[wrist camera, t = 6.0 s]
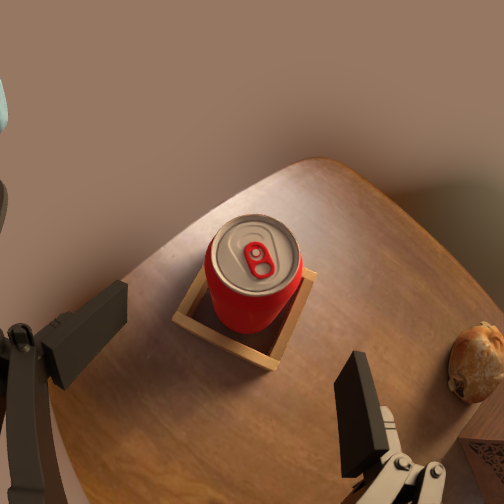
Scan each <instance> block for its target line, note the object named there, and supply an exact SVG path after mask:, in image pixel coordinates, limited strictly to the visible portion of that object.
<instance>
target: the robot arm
mask: <svg viewBox="0 0 504 504" xmlns="http://www.w3.org/2000/svg"><path fill="white" fill-rule="evenodd" d="M7 121H8V110H7V104H6V99H5V94H4V90H3V86H2V82H1V79H0V133H1V132H2V131H3V130H4V128H5V127H6V125H7ZM127 293H128V284H127V283H124V282H122V281H119V280H116V281H115V282H114V283H112V284H111V285H110V286H108V287H107V288H106V289H104V290H103V291H102V292H100V293H99V294H98V295H97V296H95V297H94V298H93V299H91V300H90V301H89V302H88V303H86V304H85V305H84V306H83V307H81V308H80V309H79V310H78V311H76V312H75V313H74V314H73V313H72V312H69V311H68V312H66V313H63V314H61V315H59V316H58V317H57V318H55V319H54V321H52V322H50V323H49V325H47V326H45V327H44V328H43V329H42V330H41V331H39V332H38V333H37V334H36V335H34V336H33V334H32V330H31V328H30V327H29V326H28V325H26V324H23V323H18V324H15V325H13V326H11V327H10V328H9V329H8V332H7V333H8V336H9V339H8V338H5V337H4V334H3V331H2V330H1V329H0V434H1V429H2V424H3V420H4V416H5V412H6V434H7V451H8V461H9V469H10V477H11V487H10V488H9V489H8V492H7V494H8V501H9V504H68V502H67V499H66V495H65V492H64V488H63V484H62V481H61V476H60V472H59V468H58V463H57V458H56V453H55V447H54V441H53V434H52V428H51V419H50V408H49V394H48V382H47V379H48V378H49V377H50V376H51V378H52V381H53V383H54V384H55V385H57V386H58V387H60V388H61V389H63V390H64V391H65V390H66V389H67V388H68V386H69V385H70V384H71V383H72V382H73V381H74V380H75V378H76V377H77V376H78V375H79V374H80V373H81V372H82V371H83V369H84V368H85V367H86V366H87V365H88V364H89V363H90V362H91V360H92V359H93V358H94V357H95V356H96V355H97V354H98V353H99V352H100V351H101V349H102V348H103V347H104V346H105V345H106V344H107V343H108V342H109V341H110V340H111V339H112V338H113V337H114V335H115V334H116V333H117V332H118V331H119V330H120V329H121V328H122V327H123V326H124V325H125V324H126V323H127ZM334 391H335V400H336V410H337V420H338V431H339V443H340V456H341V473H342V478H357V477H358V476H359V475H360V474H362V473H363V476H364V479H363V480H361V481H360V482H358V483H357V484H356V485H354V486H353V487H352V488H354V489H353V490H352V492H351V493H350V494H349V495H348V496H347V497H346V498H345V499H344V501H343V502H342V503H341V504H441V500H442V495H443V489H444V484H445V477H446V471H445V468H444V466H443V465H442V464H441V463H439V462H435V461H433V462H430V463H429V464H428V465H426V466H421V465H417V464H413V462H412V460H411V458H410V457H409V456H408V455H406V454H404V453H402V450H401V446H400V442H399V438H398V434H397V430H396V426H395V423H394V419H393V415H392V413H391V411H390V410H389V409H388V407H387V406H380V404H379V400H378V397H377V393H376V389H375V385H374V382H373V378H372V375H371V371H370V368H369V364H368V361H367V358H366V354H365V353H364V352H359V351H354V350H353V352H352V354H351V355H350V357H349V359H348V361H347V362H346V364H345V366H344V367H343V369H342V371H341V372H340V374H339V376H338V377H337V379H336V381H335V382H334Z"/></svg>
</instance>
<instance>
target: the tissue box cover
mask: <svg viewBox="0 0 504 504" xmlns="http://www.w3.org/2000/svg"><path fill="white" fill-rule="evenodd" d="M458 439H459V441H460V444H461V446H462V448H463V450H464V452H465V454H466V457H467V459H468V461H469V463H470V466H471V468H472V470H473V473H474V475H475V478H476V480H477V483H478V485H479V488H480V491H481V493H482V496H483V499H484V501H485V504H504V376H503V380H502V382H501V383H500V384H499V385H498V387H497V389H496V390H495V391H494V393H493V394H491V395H490V396H489V397H488V398H486V399H485V400H484V401H483V402H482V404H481V405H480V407H479V408H478V410H477V411H476V413H475V414H474V416H473V417H472V419H471V420H470V421H469V423H468V424H467V425H466V427H465V428H464V430H463V431H462V432H461V433H460V435H459V436H458Z"/></svg>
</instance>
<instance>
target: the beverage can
mask: <svg viewBox="0 0 504 504" xmlns="http://www.w3.org/2000/svg"><path fill="white" fill-rule="evenodd" d="M302 268H303V264H302V256H301V253H300V249H299V245H298V242H297V240H296V238H295V236H294V235H293V233H292V232H291V231H290V229H289V228H288V227H287V226H286V225H284V224H283V223H281V222H280V221H279V220H277V219H274V218H272V217H270V216H266V215H262V214H247V215H242V216H239V217H236V218H234V219H232V220H230V221H229V222H227V223H226V224H225V225H223V226H222V227H221V229H220V230H219V231H218V232H217V234H216V235H215V236H214V238H213V239H212V241H211V242H210V244H209V246H208V248H207V251H206V255H205V260H204V269H205V275H206V279H207V283H208V287H209V291H210V294H211V298H212V302H213V306H214V309H215V313H216V315H217V317H218V319H219V320H220V321H221V323H222V324H223V325H224V326H226V327H227V328H228V329H230V330H232V331H234V332H237V333H242V334H252V333H256V332H259V331H261V330H263V329H265V328H266V327H268V326H269V325H270V324H271V323H272V322H273V320H274V319H275V318H276V316H277V315H278V314H279V312H280V311H281V310H282V308H283V307H284V306H285V304H286V303H287V302H288V300H289V299H290V298H291V296H292V295H293V294H294V292H295V291H296V289H297V287H298V285H299V283H300V280H301V277H302Z"/></svg>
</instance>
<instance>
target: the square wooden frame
mask: <svg viewBox="0 0 504 504" xmlns="http://www.w3.org/2000/svg"><path fill="white" fill-rule="evenodd" d="M316 276H317V273H314V272H312V271H310V270H308V269H306V268H304V267H303V268H302V277H301V280H300V283H299V285H298V289H297V291H296V293H295V295H294V298H293V300H292V302H291V305H290V307H289V309H288V311H287V314H286V316H285V318H284V320H283V322H282V325H281V327H280V329H279V331H278V333H277V335H276V338H275V340H274V342H273V344H272V346H271V348H270V350H269V352H268V355H267V356H266V355H264V354H262V353H260V352H258V351H256V350H253V349H251V348H249V347H247V346H245V345H243V344H241V343H239V342H237V341H235V340H232V339H230V338H228V337H226V336H224V335H222V334H220V333H218V332H216V331H215V330H213V329H211V328H209V327H207V326H205V325H203V324H201V323H199V322H197V321H195V320H194V319H192V316H193V314H194V312H195V311H196V309H197V307H198V305H199V303H200V302H201V300H202V298H203V296H204V295H205V293H206V291H207V289H208V283H207V279H206V275H205V269H204V264H203V266H202V267H201V269H200V271H199V273H198V274H197V276H196V278H195V279H194V281H193V283H192V285H191V286H190V288H189V290H188V291H187V293H186V295H185V297H184V298H183V300H182V302H181V304H180V305H179V307H178V309H177V311H176V312H175V314H174V316H173V318H172V321H173V322H174V323H175V324H176V325H178V326H180V327H181V328H183V329H185V330H187V331H189V332H191V333H192V334H194V335H196V336H198V337H200V338H202V339H204V340H206V341H208V342H209V343H211V344H213V345H215V346H217V347H219V348H221V349H223V350H225V351H227V352H229V353H231V354H233V355H235V356H238V357H240V358H242V359H244V360H246V361H248V362H250V363H252V364H255V365H257V366H259V367H261V368H263V369H266V370H268V371H275V370H276V368H277V366H278V364H279V361H280V360H281V358H282V355H283V353H284V351H285V349H286V347H287V344H288V342H289V340H290V338H291V336H292V333H293V331H294V329H295V326H296V324H297V322H298V320H299V317H300V315H301V312H302V310H303V308H304V305H305V303H306V301H307V298H308V296H309V293H310V291H311V288H312V286H313V283H314V281H315V278H316Z"/></svg>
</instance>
